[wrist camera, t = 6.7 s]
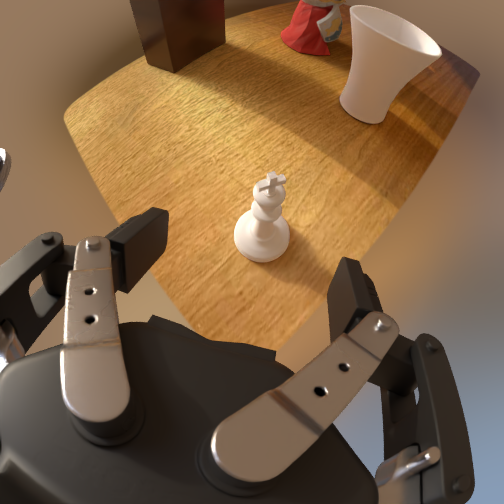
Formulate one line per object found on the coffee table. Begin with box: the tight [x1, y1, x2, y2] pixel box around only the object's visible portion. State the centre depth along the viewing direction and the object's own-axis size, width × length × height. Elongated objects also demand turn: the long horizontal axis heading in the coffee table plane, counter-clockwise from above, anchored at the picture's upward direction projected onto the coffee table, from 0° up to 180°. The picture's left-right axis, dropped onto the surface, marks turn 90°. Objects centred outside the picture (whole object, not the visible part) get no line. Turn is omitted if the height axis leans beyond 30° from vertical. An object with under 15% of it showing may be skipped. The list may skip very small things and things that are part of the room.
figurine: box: [281, 0, 346, 55], centre depth 27 cm, size 13×11×15 cm
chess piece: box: [234, 171, 290, 262], centre depth 19 cm, size 5×5×10 cm
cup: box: [340, 5, 442, 124], centre depth 23 cm, size 10×10×14 cm
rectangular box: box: [130, 0, 226, 73], centre depth 23 cm, size 11×6×20 cm, turn 142°
